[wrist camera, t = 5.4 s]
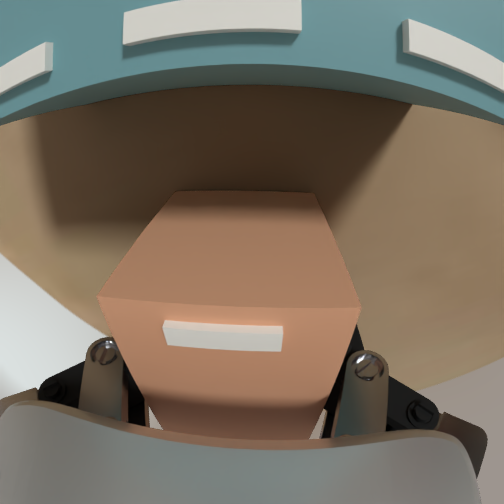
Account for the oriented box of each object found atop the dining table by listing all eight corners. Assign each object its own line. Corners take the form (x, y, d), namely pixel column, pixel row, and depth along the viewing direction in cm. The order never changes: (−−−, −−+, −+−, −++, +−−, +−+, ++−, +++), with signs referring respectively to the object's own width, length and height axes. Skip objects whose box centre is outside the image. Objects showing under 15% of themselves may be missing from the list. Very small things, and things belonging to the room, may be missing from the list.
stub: (313, 192, 10) (364, 314, 5) (294, 345, 14) (301, 458, 9) (175, 190, 10) (92, 302, 5) (197, 341, 14) (173, 450, 9)
